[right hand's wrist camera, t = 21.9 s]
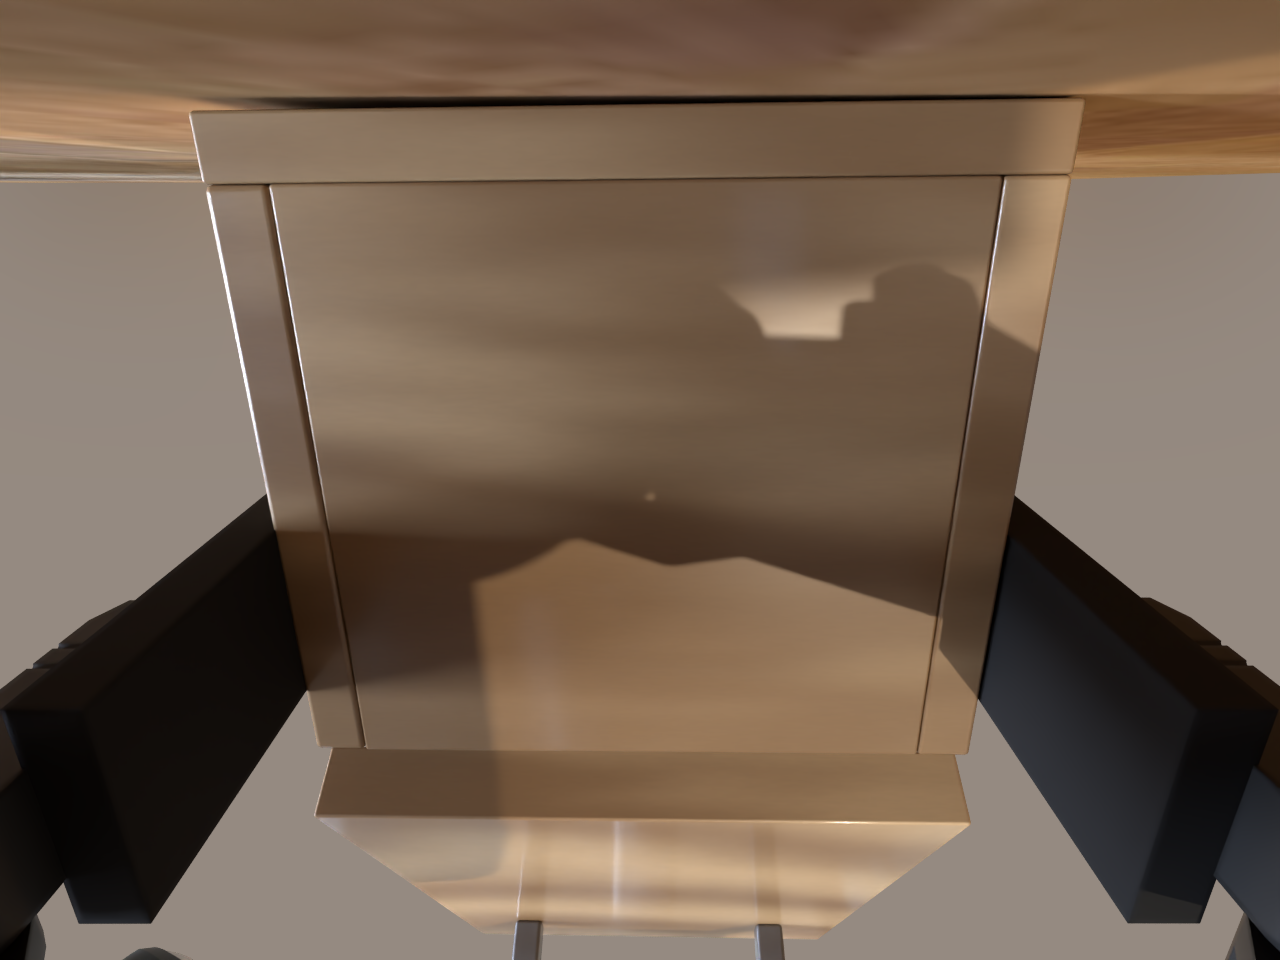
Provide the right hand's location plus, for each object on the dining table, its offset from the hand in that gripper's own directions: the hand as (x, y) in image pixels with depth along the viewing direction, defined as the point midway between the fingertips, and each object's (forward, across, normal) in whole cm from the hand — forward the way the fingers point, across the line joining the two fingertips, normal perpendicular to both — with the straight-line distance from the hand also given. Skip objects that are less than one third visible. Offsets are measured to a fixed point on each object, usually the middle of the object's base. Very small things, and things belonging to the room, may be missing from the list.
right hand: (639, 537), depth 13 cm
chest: (+4, 0, -7) cm, 8 cm away
